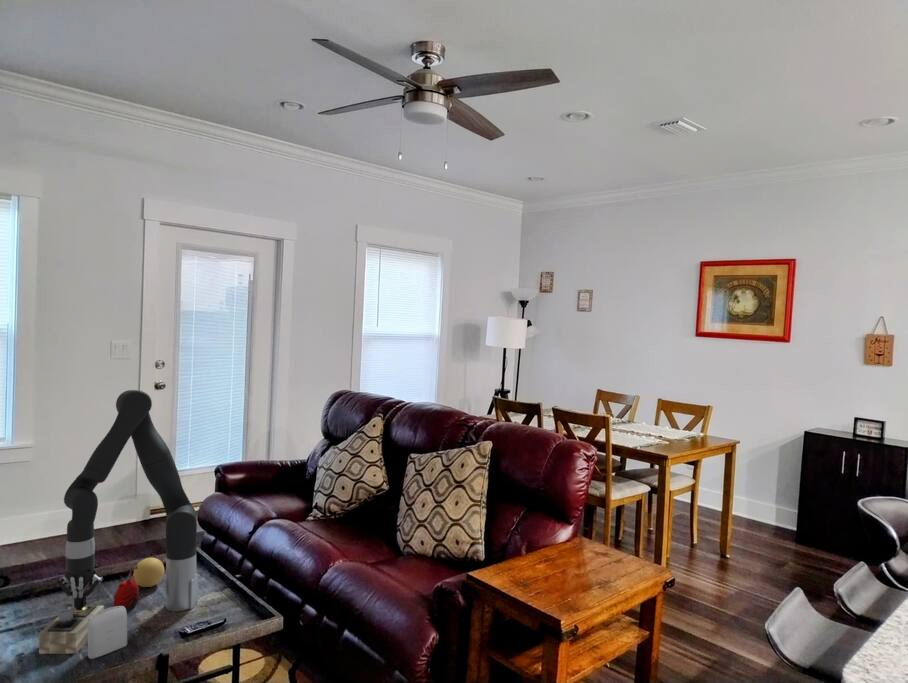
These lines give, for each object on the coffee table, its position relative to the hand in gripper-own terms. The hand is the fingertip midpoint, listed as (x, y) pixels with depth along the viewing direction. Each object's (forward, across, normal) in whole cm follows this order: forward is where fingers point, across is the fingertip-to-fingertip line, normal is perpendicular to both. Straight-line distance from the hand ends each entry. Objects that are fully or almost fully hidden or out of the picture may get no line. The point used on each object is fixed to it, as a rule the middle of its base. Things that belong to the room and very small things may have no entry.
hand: (80, 608), depth 184 cm
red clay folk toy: (+7, -7, -15) cm, 18 cm away
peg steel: (+2, 0, +8) cm, 8 cm away
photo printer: (+7, -13, +11) cm, 19 cm away
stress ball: (+7, -8, -30) cm, 32 cm away
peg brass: (+7, 0, 0) cm, 7 cm away
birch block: (+7, 0, +4) cm, 8 cm away
